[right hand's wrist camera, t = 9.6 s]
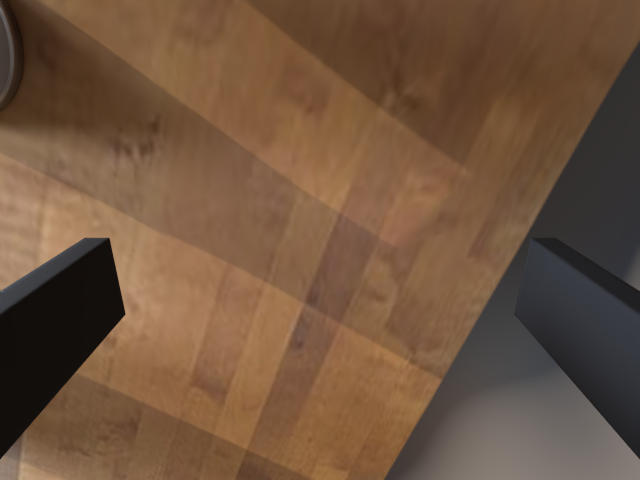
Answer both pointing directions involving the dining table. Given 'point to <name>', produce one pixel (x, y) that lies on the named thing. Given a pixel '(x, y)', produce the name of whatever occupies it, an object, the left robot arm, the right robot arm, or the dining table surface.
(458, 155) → the dining table surface
